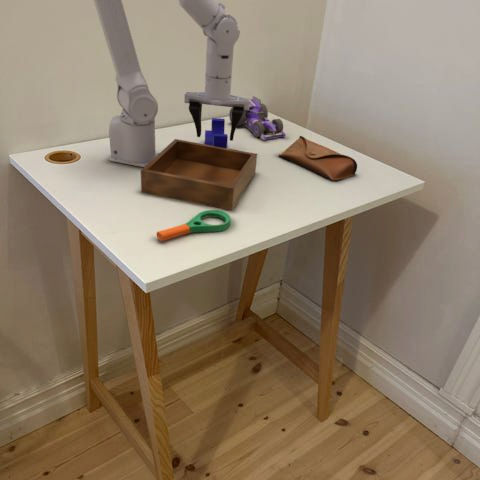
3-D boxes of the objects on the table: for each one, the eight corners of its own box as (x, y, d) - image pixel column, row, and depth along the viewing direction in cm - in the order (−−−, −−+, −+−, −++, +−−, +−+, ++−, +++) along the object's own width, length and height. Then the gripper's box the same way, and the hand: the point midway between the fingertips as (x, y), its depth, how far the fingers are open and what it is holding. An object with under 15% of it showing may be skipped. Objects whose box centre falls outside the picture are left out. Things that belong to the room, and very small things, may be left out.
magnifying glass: (216, 212, 100) (217, 204, 98) (237, 225, 96) (237, 217, 95) (149, 234, 91) (149, 225, 90) (169, 249, 88) (169, 240, 87)
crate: (141, 192, 104) (140, 170, 101) (175, 158, 118) (175, 138, 115) (232, 210, 101) (233, 188, 98) (255, 173, 115) (257, 153, 112)
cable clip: (204, 142, 127) (205, 117, 124) (222, 143, 128) (224, 118, 124) (206, 161, 118) (207, 135, 114) (225, 162, 119) (227, 136, 115)
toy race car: (259, 142, 131) (262, 116, 127) (228, 123, 140) (230, 98, 136) (289, 137, 135) (293, 111, 131) (257, 119, 144) (259, 94, 140)
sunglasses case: (275, 154, 124) (288, 127, 122) (289, 163, 129) (302, 138, 128) (334, 181, 114) (349, 152, 113) (347, 189, 120) (361, 162, 118)
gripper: (182, 76, 109) (181, 139, 118) (250, 83, 109) (244, 146, 118) (187, 68, 115) (186, 129, 123) (252, 75, 115) (246, 136, 123)
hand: (215, 137), depth 121 cm, fingers open, 7 cm apart
